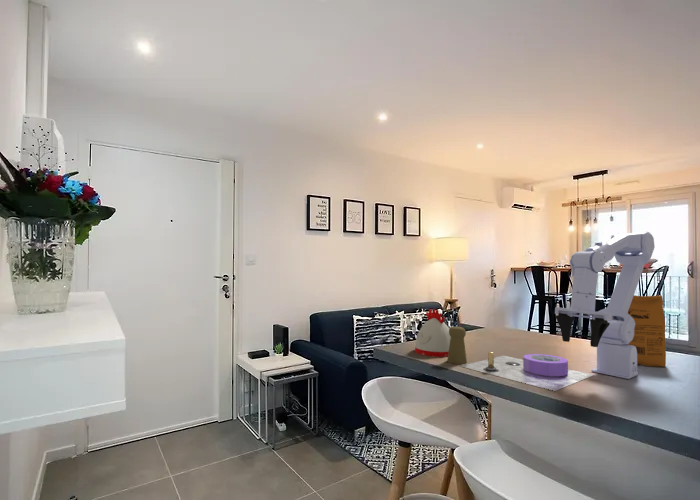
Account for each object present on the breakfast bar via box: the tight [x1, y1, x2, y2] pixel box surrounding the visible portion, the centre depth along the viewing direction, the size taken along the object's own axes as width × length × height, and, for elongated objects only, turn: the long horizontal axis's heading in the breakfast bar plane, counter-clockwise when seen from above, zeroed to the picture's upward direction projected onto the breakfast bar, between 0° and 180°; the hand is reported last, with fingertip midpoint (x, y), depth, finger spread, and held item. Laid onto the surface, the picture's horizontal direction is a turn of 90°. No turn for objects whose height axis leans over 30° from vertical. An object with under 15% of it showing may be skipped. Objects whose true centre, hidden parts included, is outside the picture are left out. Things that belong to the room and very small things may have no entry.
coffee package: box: [628, 294, 667, 368], centre depth 127 cm, size 10×12×22 cm
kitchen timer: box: [414, 308, 451, 358], centre depth 138 cm, size 14×14×15 cm
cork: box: [446, 326, 468, 365], centre depth 125 cm, size 6×6×11 cm
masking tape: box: [522, 353, 569, 376], centre depth 114 cm, size 12×12×4 cm
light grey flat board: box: [459, 355, 594, 392], centre depth 115 cm, size 28×24×1 cm
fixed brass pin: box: [486, 351, 496, 371], centre depth 115 cm, size 3×3×5 cm
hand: (579, 344), depth 107 cm, fingers open, 7 cm apart
